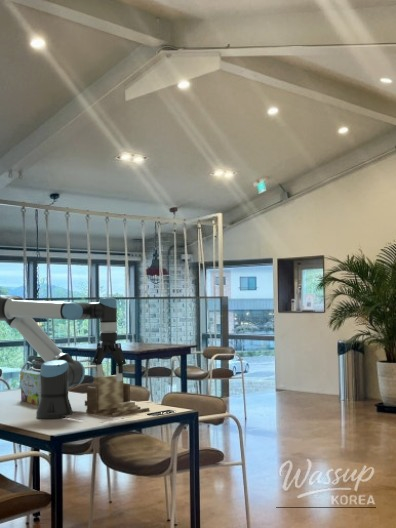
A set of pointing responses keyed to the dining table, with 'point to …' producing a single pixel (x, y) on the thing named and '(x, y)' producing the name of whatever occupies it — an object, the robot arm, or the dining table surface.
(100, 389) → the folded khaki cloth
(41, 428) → the dining table surface
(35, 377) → the snack box
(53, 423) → the dining table surface
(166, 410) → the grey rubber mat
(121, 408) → the offcut stack
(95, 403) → the rack
